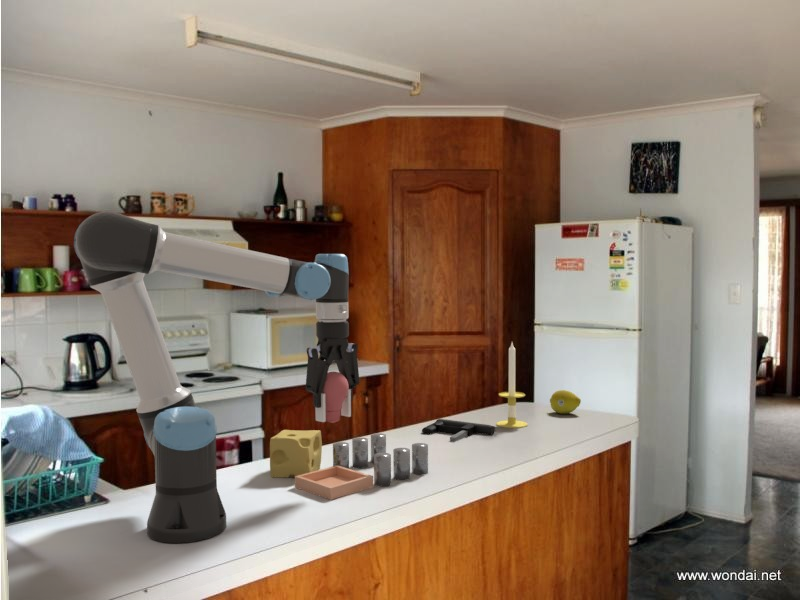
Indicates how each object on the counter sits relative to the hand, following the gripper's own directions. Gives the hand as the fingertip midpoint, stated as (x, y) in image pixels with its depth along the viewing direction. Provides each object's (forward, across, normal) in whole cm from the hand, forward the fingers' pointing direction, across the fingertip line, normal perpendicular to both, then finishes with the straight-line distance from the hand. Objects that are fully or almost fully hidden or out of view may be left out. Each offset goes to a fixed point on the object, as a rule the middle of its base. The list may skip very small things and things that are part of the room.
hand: (333, 418), depth 175 cm
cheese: (+17, +1, +16) cm, 23 cm away
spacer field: (+16, +16, +1) cm, 23 cm away
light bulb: (+1, 0, 0) cm, 1 cm away
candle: (+17, +82, +9) cm, 84 cm away
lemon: (+17, +108, +6) cm, 109 cm away
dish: (+16, 0, 0) cm, 16 cm away
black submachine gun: (+17, +60, +14) cm, 63 cm away
